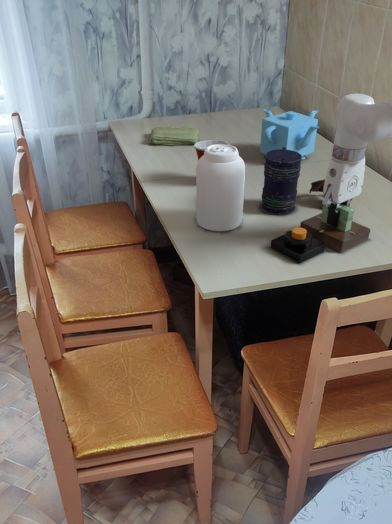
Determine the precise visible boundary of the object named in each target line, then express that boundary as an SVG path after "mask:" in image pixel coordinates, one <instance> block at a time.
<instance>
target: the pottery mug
mask: <svg viewBox="0 0 392 524" xmlns="http://www.w3.org/2000/svg"><path fill="white" fill-rule="evenodd" d="M325 179H326V178H325ZM325 179H320V180H315V181H313V182H311V183H310V185H311V187H310V189H309V191H308V193H309V194H311V193H312V192H313V193H314V192H316V193H318V192H319V193H323V190H324V184H325ZM322 203H323V200H321V202H320V205H321V209H322V210H323V205H322Z"/></svg>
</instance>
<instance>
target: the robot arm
mask: <svg viewBox="0 0 392 524" xmlns="http://www.w3.org/2000/svg"><path fill="white" fill-rule="evenodd" d="M388 139H392V100H388V101H383V102H378V103H375V99H374V98H373V97H372V96H370V95H368V94H364V93H350V94H346V95H344V96H343V97H342V98H341V100H340V102H339V108H338V114H337V120H336V126H335V132H334V138H333V145H332V151H331V159H330V161H329V164H328V167H327V171H326V175H325V184H324V190H323V192H322V196H323V200H322V201H323V203H322V205H323V206H325V207H327V209H328V216H327V224H329V225H332V226H334V227H337V226H338V221H339V215H340V212H338V211H339V207H340V204H342V205H345V206H347V207H350V206H351V203H352V200H354V199H355V198H356V197H359V196H360V195H361V193H362V191H363V186H364V185H363V184H364V180H365V170H366V151H367V145H368V143H376V142H380V141H384V140H388ZM333 202H335V203H336V204H335V205H334V204H333ZM322 205H321V206H322ZM350 208H351V207H350Z"/></svg>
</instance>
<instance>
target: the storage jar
mask: <svg viewBox="0 0 392 524" xmlns="http://www.w3.org/2000/svg"><path fill="white" fill-rule="evenodd" d="M286 149H287V148H286V147H282V149H278V150H272V151H269V152H267V153H266V154H265V160H264V167H263V176H264V178H263V179H264V181H263V188H262V191H261V192H262V193H261V206H260V208H261V210H262V211H263V212H265V213H267V214H268V215H269V214H270V215H274V216H287V215H290V214H292V213H294V212H295V211H296V204H297V200H298V199H297V198H298V181H299V178H300V175H301V174H300V173H301V167H302V159H301V158H302V156H301V154H299V153H298V152H295V151H292V150H286Z"/></svg>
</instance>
